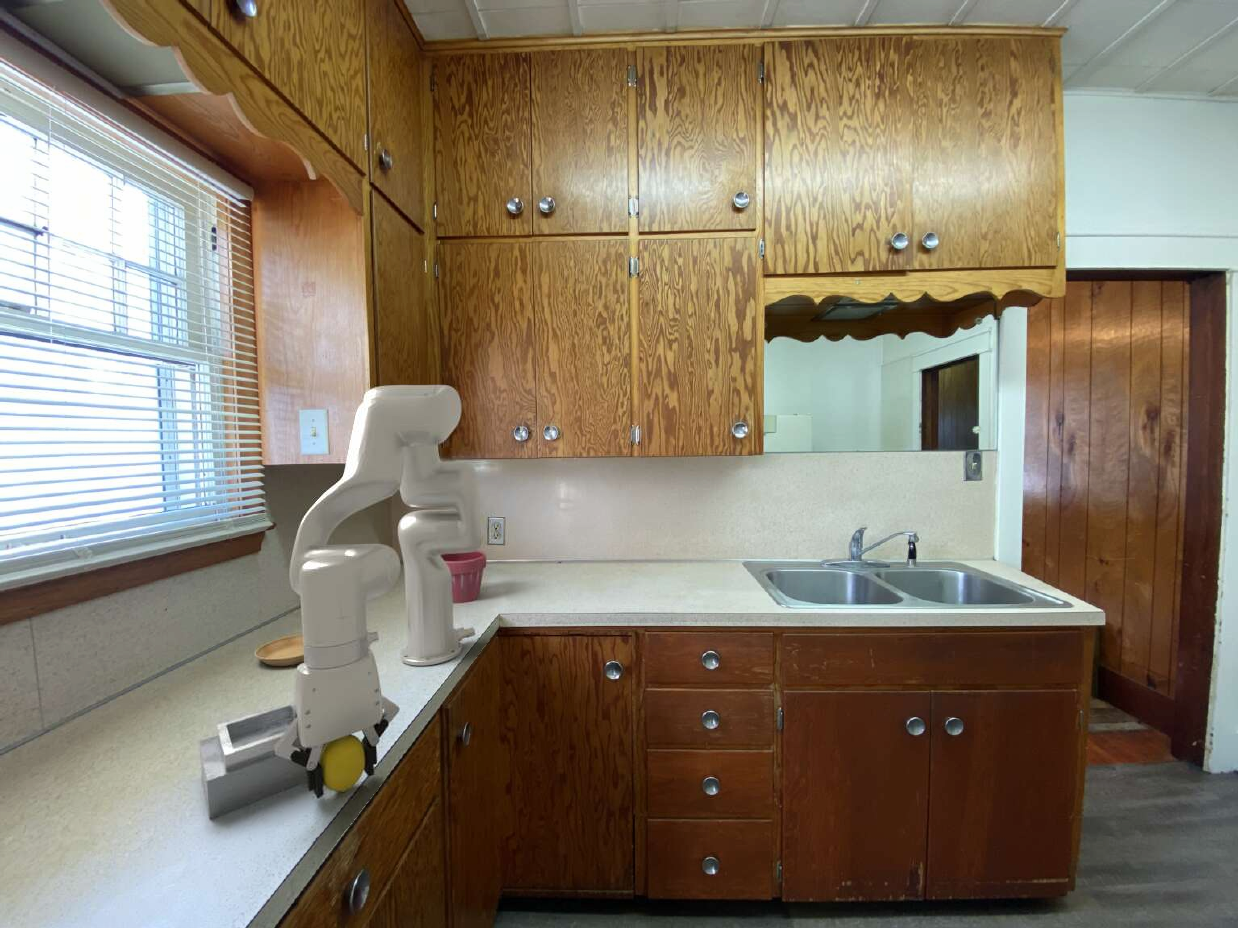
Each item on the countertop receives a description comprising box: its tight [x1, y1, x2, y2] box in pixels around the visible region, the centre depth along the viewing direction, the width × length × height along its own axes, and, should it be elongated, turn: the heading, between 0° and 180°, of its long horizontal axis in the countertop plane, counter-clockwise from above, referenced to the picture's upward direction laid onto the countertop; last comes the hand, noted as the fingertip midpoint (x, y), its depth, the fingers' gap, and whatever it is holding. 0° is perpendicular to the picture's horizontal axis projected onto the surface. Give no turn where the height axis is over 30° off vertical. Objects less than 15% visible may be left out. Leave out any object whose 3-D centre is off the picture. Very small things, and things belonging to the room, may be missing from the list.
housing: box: [198, 701, 327, 820], centre depth 77 cm, size 17×12×7 cm
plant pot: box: [440, 550, 487, 604], centre depth 156 cm, size 14×14×13 cm
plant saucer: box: [254, 633, 304, 667], centre depth 118 cm, size 15×15×3 cm
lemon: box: [319, 734, 365, 793], centre depth 72 cm, size 6×6×8 cm
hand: (343, 780), depth 72 cm, fingers closed on lemon, 5 cm apart
